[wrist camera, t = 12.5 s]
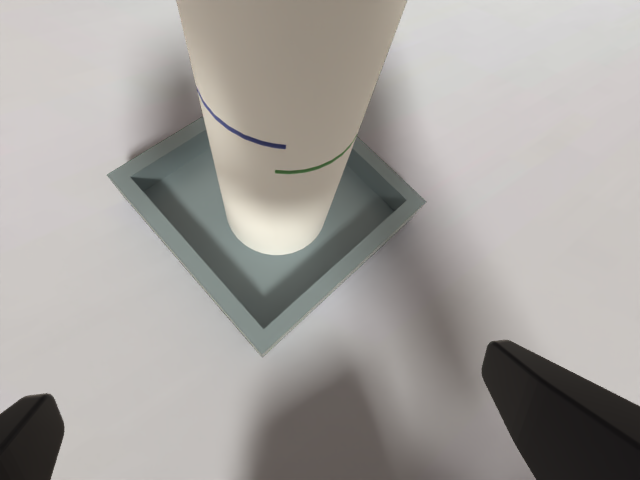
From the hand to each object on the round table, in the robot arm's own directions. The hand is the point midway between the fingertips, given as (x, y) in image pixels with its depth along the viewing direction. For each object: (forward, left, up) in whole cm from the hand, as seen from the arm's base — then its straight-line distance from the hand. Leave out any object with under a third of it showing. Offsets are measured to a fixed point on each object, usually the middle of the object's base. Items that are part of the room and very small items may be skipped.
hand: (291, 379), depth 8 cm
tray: (+9, -8, -17) cm, 21 cm away
